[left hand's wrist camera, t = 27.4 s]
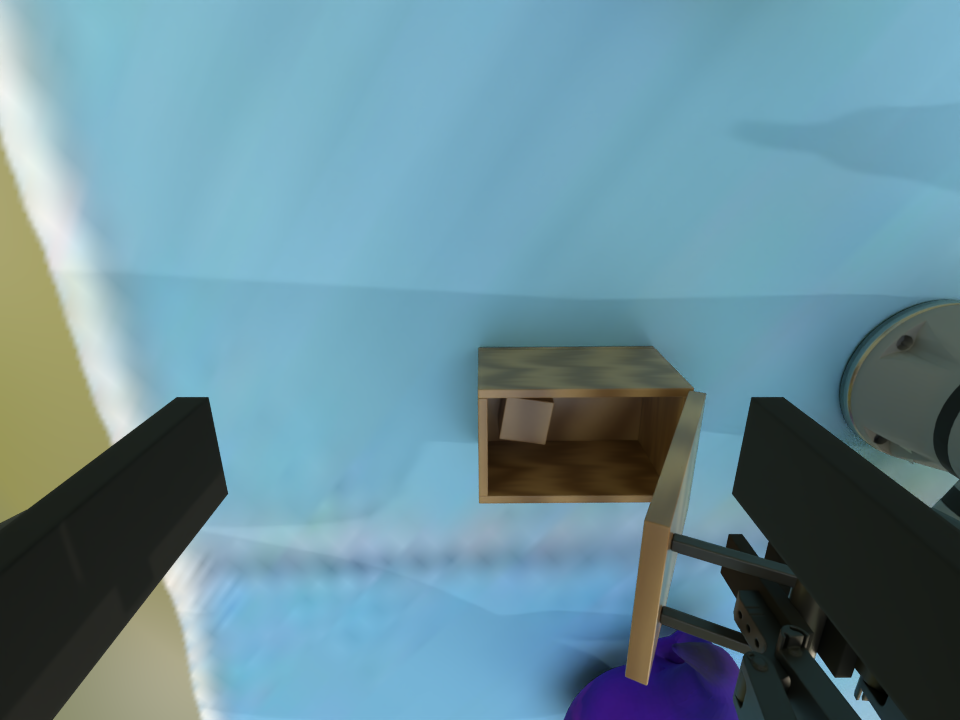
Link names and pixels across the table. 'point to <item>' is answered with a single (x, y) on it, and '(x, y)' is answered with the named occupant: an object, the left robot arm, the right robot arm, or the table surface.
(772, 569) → the lid
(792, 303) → the table surface
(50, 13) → the table surface
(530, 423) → the block
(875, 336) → the right robot arm
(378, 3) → the table surface
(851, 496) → the left robot arm
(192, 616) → the table surface
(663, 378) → the chest
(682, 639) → the toy
